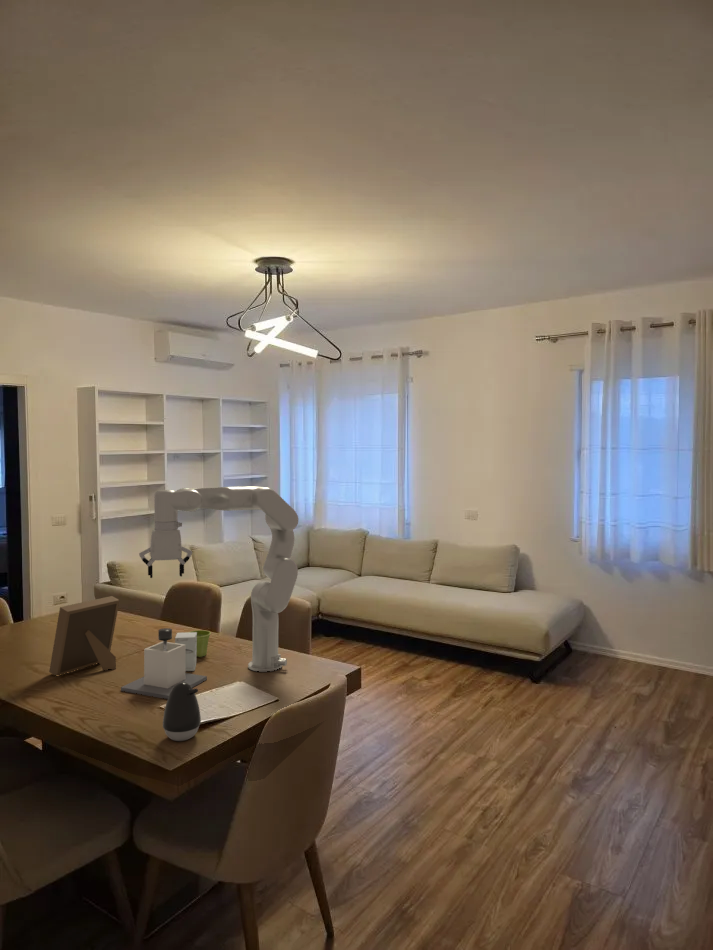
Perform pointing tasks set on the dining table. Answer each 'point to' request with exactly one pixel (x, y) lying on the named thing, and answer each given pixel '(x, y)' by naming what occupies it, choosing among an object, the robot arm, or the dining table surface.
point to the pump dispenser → (181, 713)
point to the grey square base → (163, 671)
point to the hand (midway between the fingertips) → (166, 576)
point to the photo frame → (85, 636)
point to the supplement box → (188, 648)
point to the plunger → (165, 636)
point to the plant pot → (202, 642)
